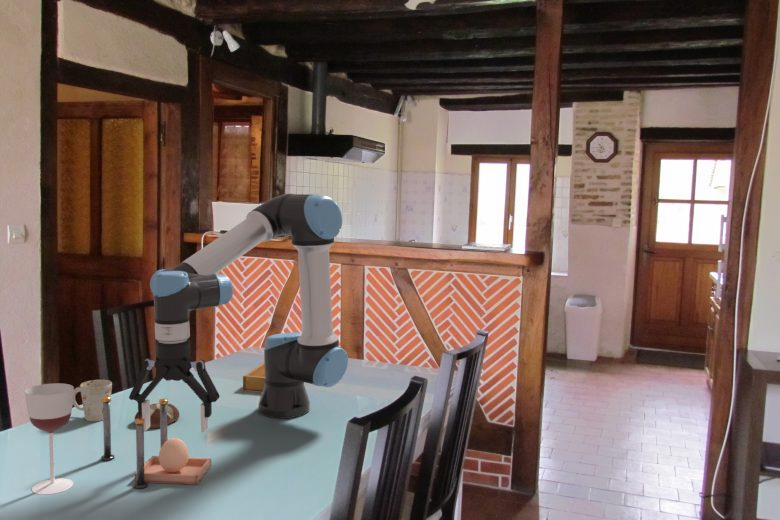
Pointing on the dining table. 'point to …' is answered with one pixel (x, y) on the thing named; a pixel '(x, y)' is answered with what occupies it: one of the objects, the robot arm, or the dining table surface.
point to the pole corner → (163, 420)
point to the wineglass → (50, 424)
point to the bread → (155, 415)
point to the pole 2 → (140, 454)
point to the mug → (93, 398)
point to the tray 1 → (187, 475)
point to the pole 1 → (107, 429)
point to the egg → (173, 455)
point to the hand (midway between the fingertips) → (175, 429)
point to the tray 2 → (255, 379)
